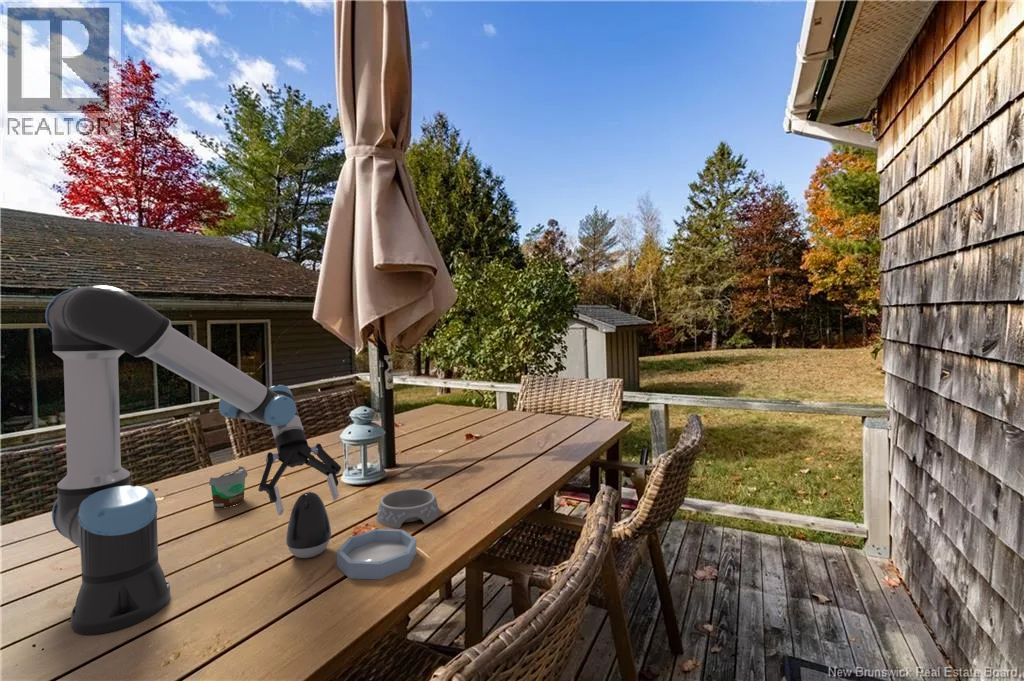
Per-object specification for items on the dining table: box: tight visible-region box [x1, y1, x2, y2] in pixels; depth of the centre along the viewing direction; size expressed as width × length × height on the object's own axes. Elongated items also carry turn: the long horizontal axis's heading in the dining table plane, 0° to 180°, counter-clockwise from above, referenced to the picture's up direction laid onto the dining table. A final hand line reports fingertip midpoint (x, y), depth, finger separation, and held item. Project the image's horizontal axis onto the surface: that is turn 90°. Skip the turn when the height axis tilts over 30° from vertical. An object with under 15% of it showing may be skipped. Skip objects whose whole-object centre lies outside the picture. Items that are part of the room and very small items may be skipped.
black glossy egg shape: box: [285, 491, 332, 559], centre depth 115 cm, size 10×10×15 cm
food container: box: [208, 465, 249, 509], centre depth 146 cm, size 12×6×10 cm, turn 168°
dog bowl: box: [375, 488, 440, 529], centre depth 138 cm, size 17×18×5 cm
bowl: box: [336, 528, 417, 580], centre depth 112 cm, size 17×17×4 cm
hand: (309, 505), depth 118 cm, fingers open, 13 cm apart
